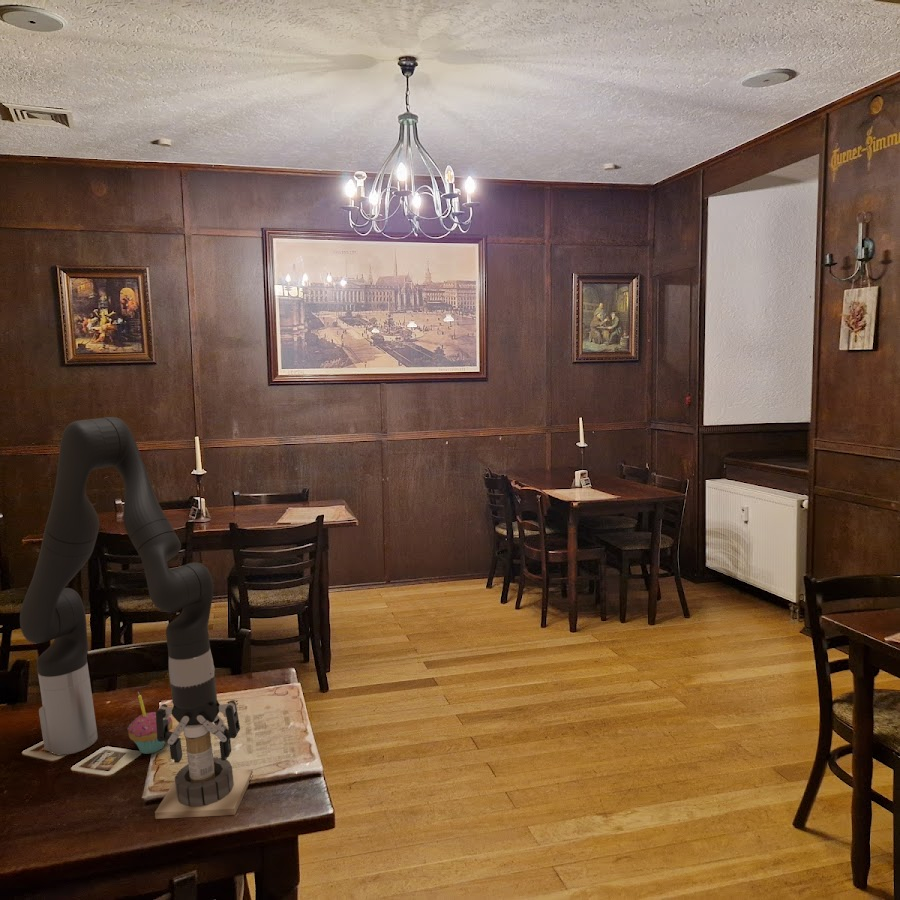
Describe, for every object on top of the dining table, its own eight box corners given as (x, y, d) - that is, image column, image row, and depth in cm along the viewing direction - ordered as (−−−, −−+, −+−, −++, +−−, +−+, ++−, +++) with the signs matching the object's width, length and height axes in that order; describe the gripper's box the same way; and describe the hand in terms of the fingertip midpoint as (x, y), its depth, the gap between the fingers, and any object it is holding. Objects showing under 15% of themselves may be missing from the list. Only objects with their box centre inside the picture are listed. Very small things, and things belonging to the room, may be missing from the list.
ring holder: (155, 818, 132) (152, 794, 131) (180, 778, 144) (177, 756, 143) (234, 814, 132) (232, 790, 131) (252, 775, 144) (250, 752, 143)
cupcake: (121, 755, 154) (113, 700, 152) (150, 734, 161) (144, 681, 160) (155, 761, 151) (148, 705, 149) (183, 739, 158) (177, 685, 157)
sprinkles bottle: (215, 779, 141) (207, 712, 139) (218, 792, 137) (211, 723, 135) (189, 787, 139) (181, 719, 137) (192, 800, 135) (184, 730, 133)
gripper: (144, 687, 131) (155, 773, 133) (225, 682, 131) (235, 769, 133) (160, 668, 138) (170, 749, 141) (237, 664, 138) (246, 746, 140)
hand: (202, 759), depth 137 cm, fingers open, 8 cm apart
